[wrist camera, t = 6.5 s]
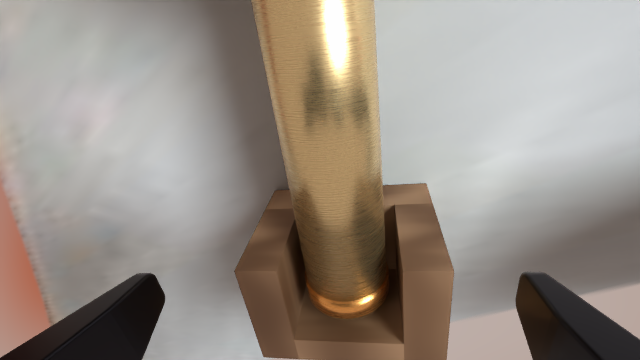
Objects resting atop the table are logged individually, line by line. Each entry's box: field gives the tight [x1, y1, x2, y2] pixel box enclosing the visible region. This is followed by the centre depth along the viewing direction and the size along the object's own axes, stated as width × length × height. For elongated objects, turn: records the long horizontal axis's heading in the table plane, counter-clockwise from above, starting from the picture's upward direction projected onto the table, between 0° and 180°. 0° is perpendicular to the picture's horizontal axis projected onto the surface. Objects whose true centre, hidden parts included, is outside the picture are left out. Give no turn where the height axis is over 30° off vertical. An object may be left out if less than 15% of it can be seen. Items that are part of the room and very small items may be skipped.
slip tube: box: [251, 0, 389, 320], centre depth 12 cm, size 4×20×4 cm, turn 7°
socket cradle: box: [234, 183, 454, 360], centre depth 17 cm, size 9×6×7 cm, turn 97°
